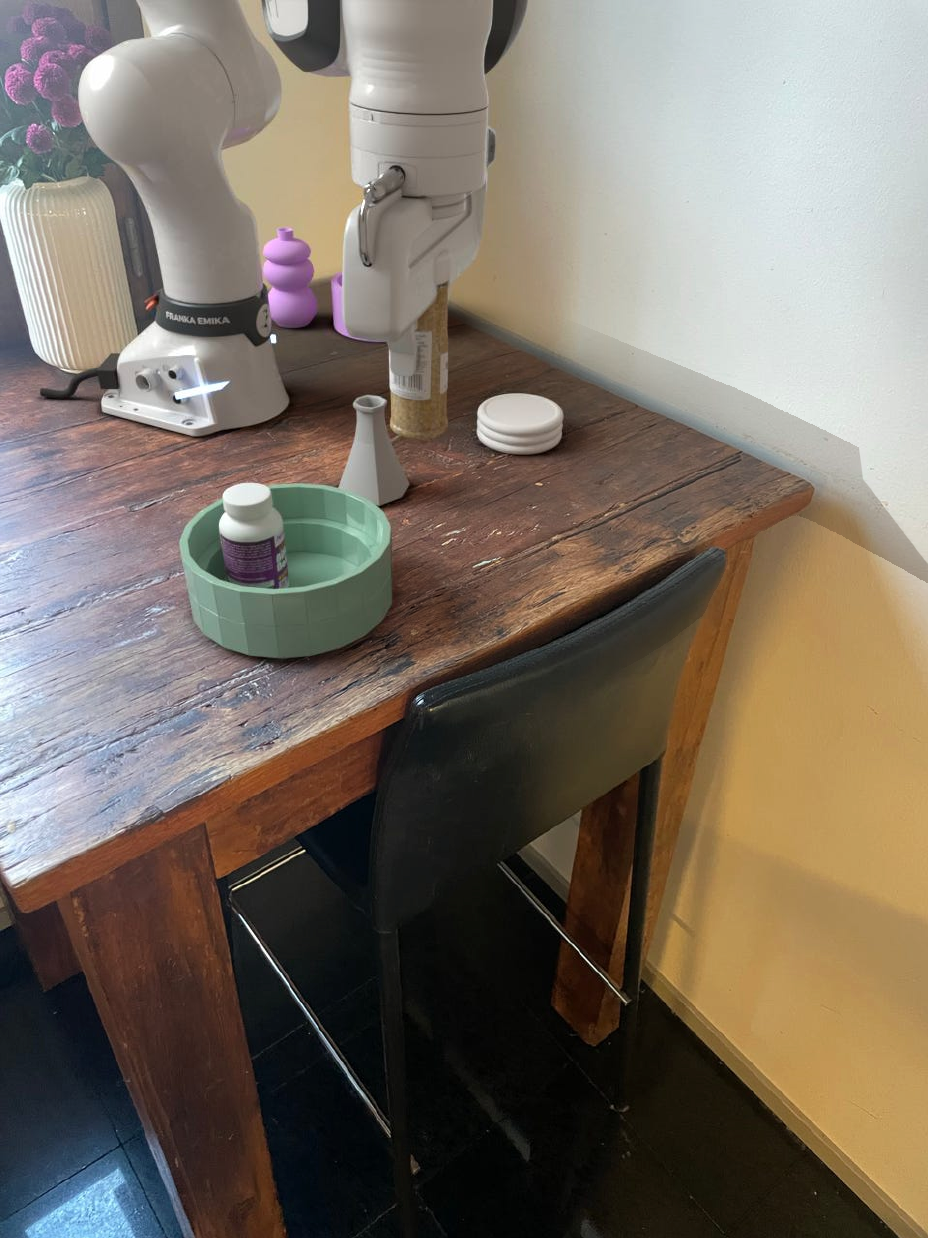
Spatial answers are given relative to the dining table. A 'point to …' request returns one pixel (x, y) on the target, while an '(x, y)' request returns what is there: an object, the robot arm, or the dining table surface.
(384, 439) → the flask
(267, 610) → the mint green bowl
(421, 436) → the sprinkles bottle
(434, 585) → the dining table surface
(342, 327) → the container set
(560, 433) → the white round disc stack
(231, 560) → the pill bottle
